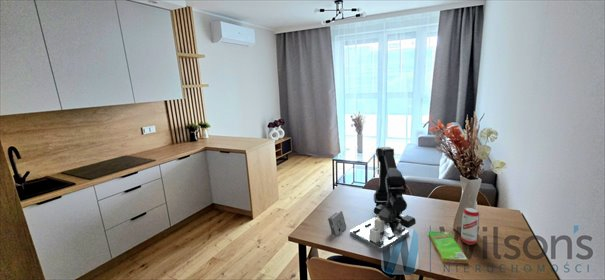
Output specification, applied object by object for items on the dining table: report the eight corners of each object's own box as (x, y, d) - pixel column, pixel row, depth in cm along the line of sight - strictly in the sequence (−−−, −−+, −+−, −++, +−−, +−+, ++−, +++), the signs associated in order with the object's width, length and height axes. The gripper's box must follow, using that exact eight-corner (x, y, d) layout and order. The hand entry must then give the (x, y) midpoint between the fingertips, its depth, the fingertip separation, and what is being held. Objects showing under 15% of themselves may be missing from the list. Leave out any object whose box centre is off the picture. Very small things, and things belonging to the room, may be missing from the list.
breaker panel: (377, 219, 147) (377, 214, 146) (408, 234, 132) (409, 229, 131) (350, 234, 135) (350, 228, 134) (381, 252, 120) (381, 246, 119)
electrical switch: (337, 236, 134) (335, 219, 132) (328, 234, 137) (326, 217, 136) (346, 228, 141) (345, 211, 139) (338, 226, 144) (336, 209, 143)
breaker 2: (372, 237, 127) (372, 226, 126) (379, 241, 124) (380, 229, 123) (369, 239, 126) (369, 228, 125) (376, 243, 123) (376, 231, 121)
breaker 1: (377, 227, 135) (377, 217, 134) (384, 230, 132) (384, 220, 131) (374, 229, 134) (374, 218, 133) (380, 232, 131) (381, 221, 129)
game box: (441, 264, 112) (427, 234, 132) (467, 265, 111) (448, 235, 130) (442, 258, 111) (427, 229, 131) (468, 259, 110) (449, 229, 130)
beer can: (476, 247, 120) (480, 214, 117) (460, 243, 124) (463, 211, 120) (476, 239, 126) (479, 208, 122) (460, 236, 129) (463, 205, 125)
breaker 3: (394, 224, 137) (395, 214, 136) (401, 227, 134) (402, 217, 133) (391, 226, 135) (391, 216, 134) (398, 229, 132) (399, 219, 131)
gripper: (366, 199, 125) (366, 230, 129) (401, 214, 111) (400, 248, 114) (381, 192, 132) (380, 221, 135) (417, 206, 117) (415, 238, 121)
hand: (393, 232), depth 126 cm, fingers closed
